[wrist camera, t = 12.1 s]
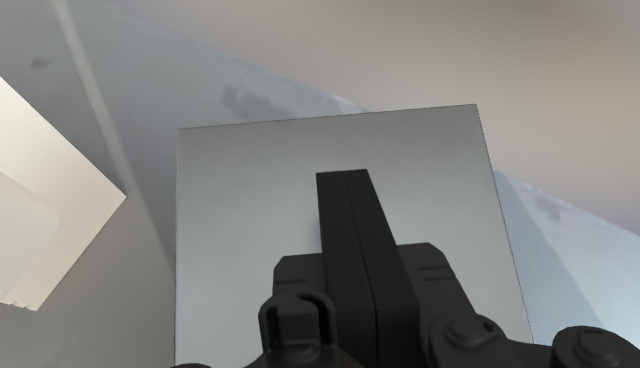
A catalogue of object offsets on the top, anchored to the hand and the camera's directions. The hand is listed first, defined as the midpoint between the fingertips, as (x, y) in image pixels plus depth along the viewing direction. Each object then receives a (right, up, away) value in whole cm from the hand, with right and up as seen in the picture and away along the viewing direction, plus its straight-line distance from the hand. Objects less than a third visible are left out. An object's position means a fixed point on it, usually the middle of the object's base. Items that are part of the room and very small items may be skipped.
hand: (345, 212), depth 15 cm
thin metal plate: (0, -3, +1) cm, 3 cm away
